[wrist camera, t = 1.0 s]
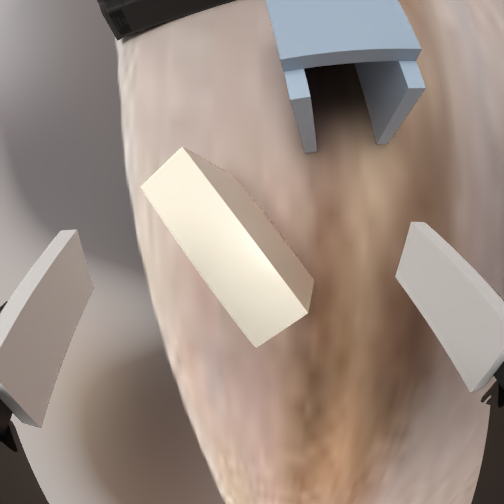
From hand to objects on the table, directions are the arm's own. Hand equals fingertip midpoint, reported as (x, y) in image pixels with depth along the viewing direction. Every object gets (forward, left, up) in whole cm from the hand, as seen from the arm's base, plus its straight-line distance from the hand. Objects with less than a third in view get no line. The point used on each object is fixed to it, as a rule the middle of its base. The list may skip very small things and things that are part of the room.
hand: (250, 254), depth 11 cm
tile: (+2, +3, -19) cm, 19 cm away
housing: (+10, -13, -19) cm, 25 cm away
